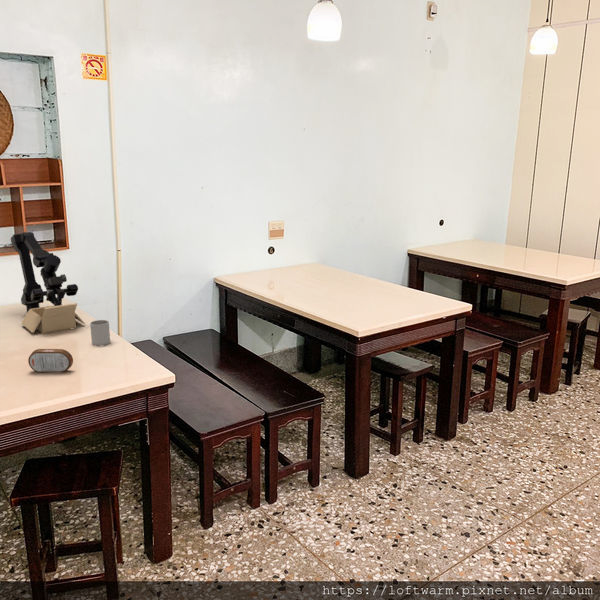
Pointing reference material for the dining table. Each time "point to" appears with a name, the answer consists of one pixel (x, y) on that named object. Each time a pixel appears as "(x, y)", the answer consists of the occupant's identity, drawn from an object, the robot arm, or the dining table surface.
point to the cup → (100, 332)
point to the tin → (50, 360)
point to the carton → (49, 321)
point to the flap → (59, 310)
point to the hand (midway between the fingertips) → (60, 309)
